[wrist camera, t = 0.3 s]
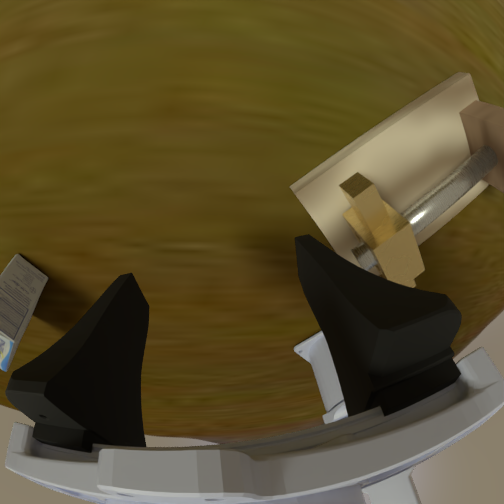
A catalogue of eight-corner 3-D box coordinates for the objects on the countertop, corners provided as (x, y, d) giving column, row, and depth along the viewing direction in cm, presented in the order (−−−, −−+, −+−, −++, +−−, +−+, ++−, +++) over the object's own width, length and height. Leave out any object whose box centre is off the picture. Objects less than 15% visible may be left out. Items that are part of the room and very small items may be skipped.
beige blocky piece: (486, 173, 21) (528, 199, 16) (353, 278, 26) (383, 327, 21) (458, 72, 15) (514, 82, 10) (289, 186, 20) (319, 229, 15)
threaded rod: (483, 161, 17) (499, 169, 15) (357, 261, 21) (368, 277, 19) (479, 142, 16) (496, 149, 14) (347, 245, 20) (358, 260, 18)
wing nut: (401, 257, 23) (430, 291, 19) (376, 275, 24) (402, 312, 20) (356, 160, 18) (395, 185, 14) (322, 184, 19) (353, 215, 14)
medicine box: (18, 250, 20) (-27, 312, 12) (50, 277, 22) (14, 344, 15) (5, 294, 22) (-27, 349, 15) (33, 315, 24) (6, 374, 17)
